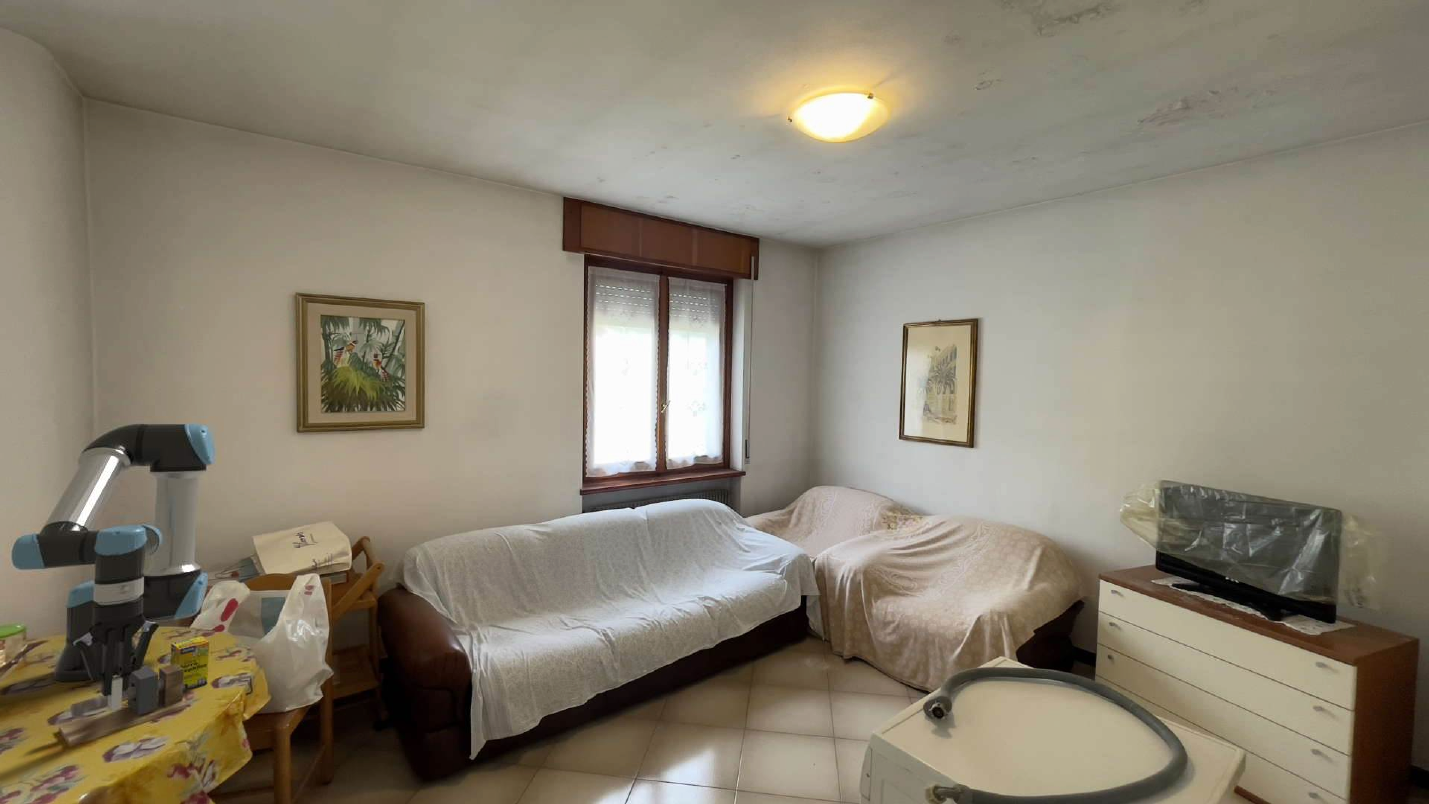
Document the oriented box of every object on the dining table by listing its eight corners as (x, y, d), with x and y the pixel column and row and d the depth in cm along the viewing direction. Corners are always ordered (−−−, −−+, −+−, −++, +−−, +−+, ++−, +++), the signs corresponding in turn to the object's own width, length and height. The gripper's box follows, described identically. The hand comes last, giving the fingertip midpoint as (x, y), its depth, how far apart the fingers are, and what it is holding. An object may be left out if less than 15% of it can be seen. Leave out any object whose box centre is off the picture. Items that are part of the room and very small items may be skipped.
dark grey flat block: (138, 715, 125) (139, 679, 125) (127, 704, 129) (129, 669, 129) (156, 709, 128) (158, 674, 128) (145, 699, 132) (147, 665, 132)
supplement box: (176, 694, 137) (178, 649, 137) (168, 686, 140) (170, 643, 141) (208, 684, 142) (209, 641, 142) (199, 677, 146) (201, 635, 146)
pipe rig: (70, 746, 116) (72, 705, 116) (58, 730, 121) (60, 691, 121) (185, 708, 131) (187, 672, 131) (171, 695, 136) (172, 660, 136)
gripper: (79, 611, 115) (74, 727, 114) (165, 594, 126) (161, 700, 126) (69, 604, 118) (64, 716, 118) (153, 587, 130) (149, 690, 129)
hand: (114, 707), depth 122 cm, fingers closed
